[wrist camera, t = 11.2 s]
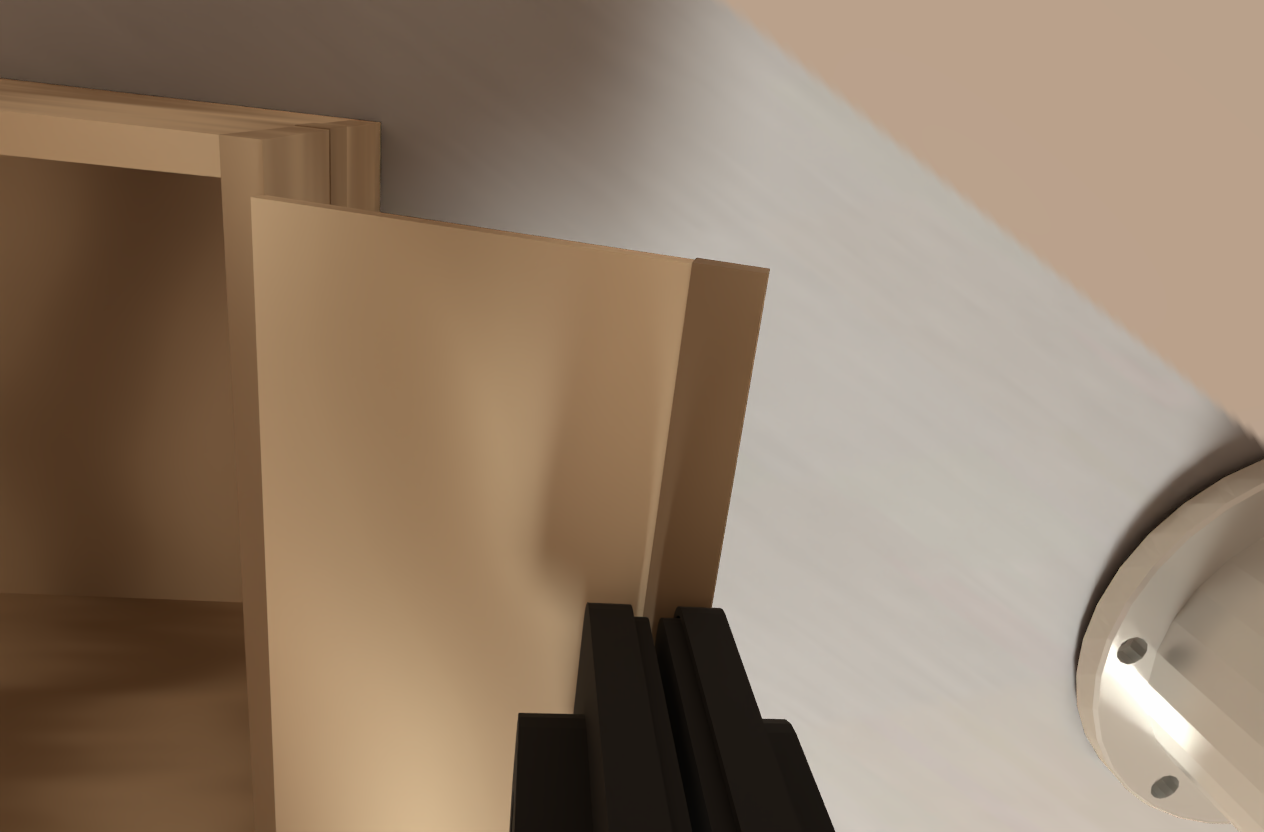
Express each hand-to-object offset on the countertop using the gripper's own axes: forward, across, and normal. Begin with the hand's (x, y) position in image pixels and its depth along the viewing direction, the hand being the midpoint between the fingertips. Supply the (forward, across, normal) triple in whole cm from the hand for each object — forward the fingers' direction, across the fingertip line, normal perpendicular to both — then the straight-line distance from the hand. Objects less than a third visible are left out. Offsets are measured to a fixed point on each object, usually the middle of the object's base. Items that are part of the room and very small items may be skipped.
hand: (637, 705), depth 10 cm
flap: (+1, +2, 0) cm, 2 cm away
